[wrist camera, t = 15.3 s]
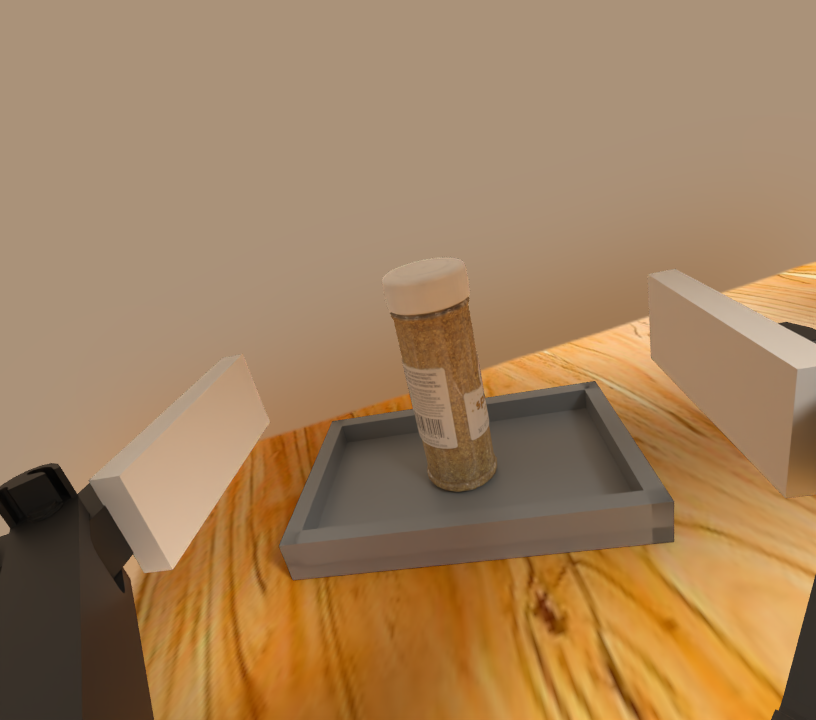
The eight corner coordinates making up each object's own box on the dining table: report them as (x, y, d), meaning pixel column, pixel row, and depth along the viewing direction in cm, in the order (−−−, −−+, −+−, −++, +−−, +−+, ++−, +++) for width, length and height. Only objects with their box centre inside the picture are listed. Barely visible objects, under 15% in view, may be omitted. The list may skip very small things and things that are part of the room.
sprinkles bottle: (512, 474, 29) (481, 259, 24) (447, 506, 28) (399, 285, 22) (474, 441, 33) (440, 250, 28) (415, 467, 32) (368, 272, 26)
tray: (597, 411, 35) (595, 381, 34) (674, 541, 23) (674, 501, 22) (340, 447, 38) (332, 421, 37) (292, 580, 26) (278, 546, 25)
